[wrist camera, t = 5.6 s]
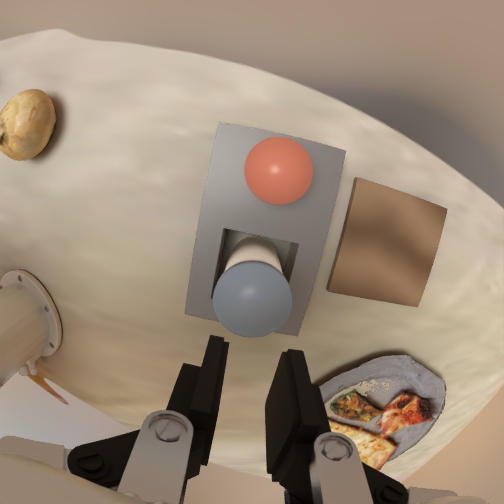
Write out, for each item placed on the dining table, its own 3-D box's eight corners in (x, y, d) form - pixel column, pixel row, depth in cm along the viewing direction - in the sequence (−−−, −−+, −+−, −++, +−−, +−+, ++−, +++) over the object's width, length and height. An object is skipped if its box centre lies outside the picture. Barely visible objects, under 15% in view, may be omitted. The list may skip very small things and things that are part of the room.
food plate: (461, 389, 31) (471, 402, 28) (359, 474, 37) (363, 488, 33) (364, 319, 29) (375, 335, 26) (243, 436, 34) (241, 454, 31)
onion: (22, 105, 23) (-16, 97, 16) (68, 86, 23) (29, 71, 16) (20, 166, 25) (-21, 168, 18) (64, 153, 25) (21, 151, 18)
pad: (414, 304, 28) (417, 307, 27) (326, 288, 27) (327, 291, 27) (443, 208, 25) (447, 209, 24) (354, 177, 25) (357, 177, 24)
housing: (292, 316, 28) (297, 336, 24) (193, 296, 28) (184, 314, 24) (333, 154, 24) (346, 150, 20) (224, 130, 24) (218, 121, 20)
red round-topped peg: (292, 203, 25) (304, 211, 18) (242, 192, 25) (237, 196, 18) (303, 154, 24) (319, 146, 17) (253, 143, 24) (252, 130, 17)
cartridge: (273, 287, 28) (281, 342, 18) (224, 277, 27) (207, 329, 18) (285, 239, 26) (301, 273, 17) (233, 228, 26) (219, 257, 16)
